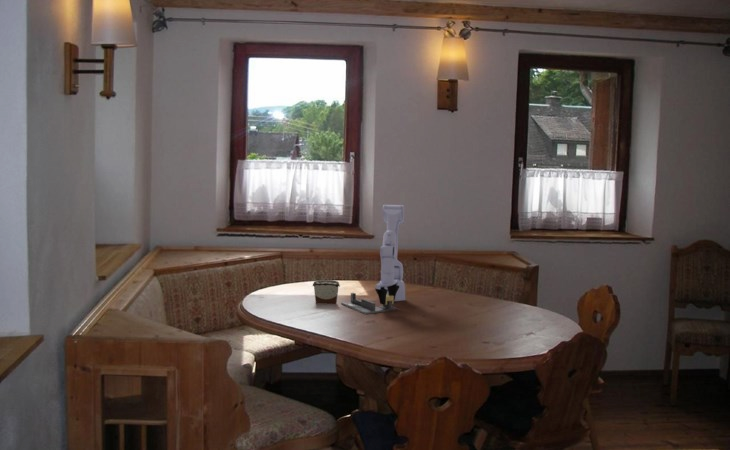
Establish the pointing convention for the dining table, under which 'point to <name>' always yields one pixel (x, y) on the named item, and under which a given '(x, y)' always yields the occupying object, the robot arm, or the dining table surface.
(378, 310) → the rail
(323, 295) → the food container
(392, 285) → the robot arm
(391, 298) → the clip
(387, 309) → the grey finned base plate
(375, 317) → the dining table surface
